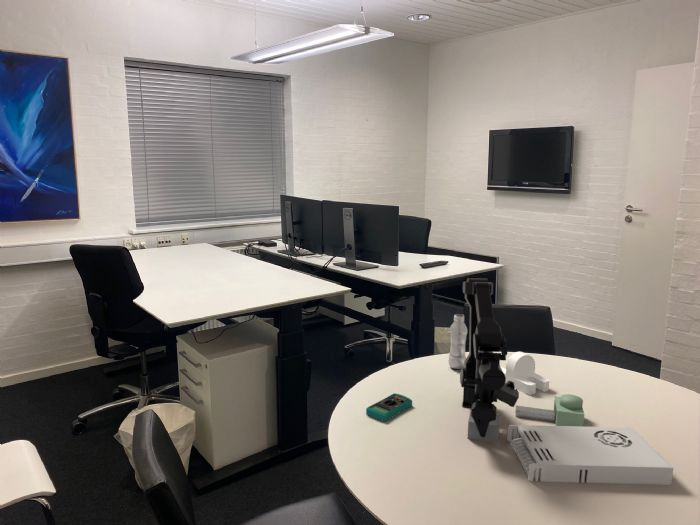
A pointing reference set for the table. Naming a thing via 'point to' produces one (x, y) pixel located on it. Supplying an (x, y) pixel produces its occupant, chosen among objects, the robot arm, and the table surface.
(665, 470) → the power supply unit
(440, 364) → the table surface
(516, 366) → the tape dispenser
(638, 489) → the table surface
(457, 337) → the plastic bottle
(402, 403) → the digital multimeter
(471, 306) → the robot arm
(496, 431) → the chute
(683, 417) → the table surface
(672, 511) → the table surface
